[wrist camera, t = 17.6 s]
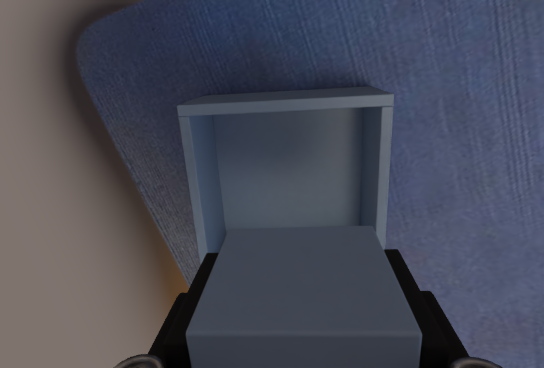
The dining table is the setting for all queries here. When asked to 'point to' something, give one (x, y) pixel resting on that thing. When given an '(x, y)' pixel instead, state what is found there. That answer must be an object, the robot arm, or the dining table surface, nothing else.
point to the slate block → (303, 303)
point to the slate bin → (287, 160)
